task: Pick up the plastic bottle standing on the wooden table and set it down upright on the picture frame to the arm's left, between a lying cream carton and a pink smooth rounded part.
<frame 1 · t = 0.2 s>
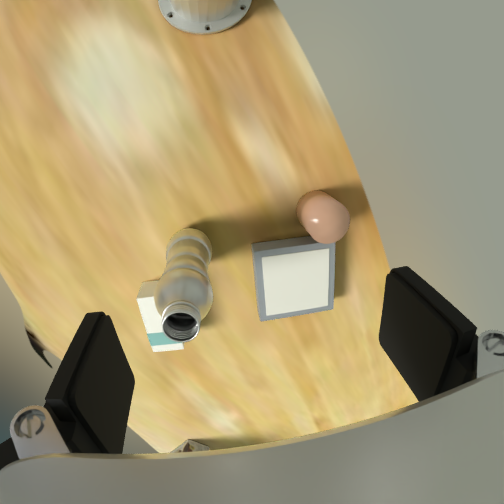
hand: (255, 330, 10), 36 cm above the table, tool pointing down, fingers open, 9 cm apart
pink smooth rounded part: (315, 210, 48), on the table
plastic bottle: (189, 244, 47), on the table
lying carton: (164, 307, 51), on the table
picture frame: (292, 273, 51), on the table
coffee box: (188, 449, 68), on the table
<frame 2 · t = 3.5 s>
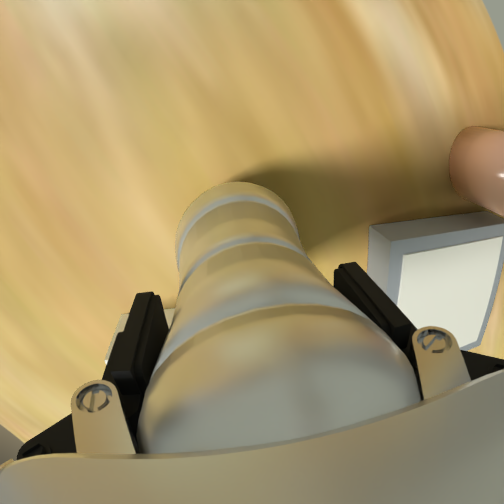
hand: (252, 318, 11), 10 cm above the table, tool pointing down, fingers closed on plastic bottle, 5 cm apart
pink smooth rounded part: (474, 163, 20), on the table
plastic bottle: (232, 227, 20), on the table, touching gripper
lying carton: (171, 364, 23), on the table
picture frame: (428, 287, 24), on the table
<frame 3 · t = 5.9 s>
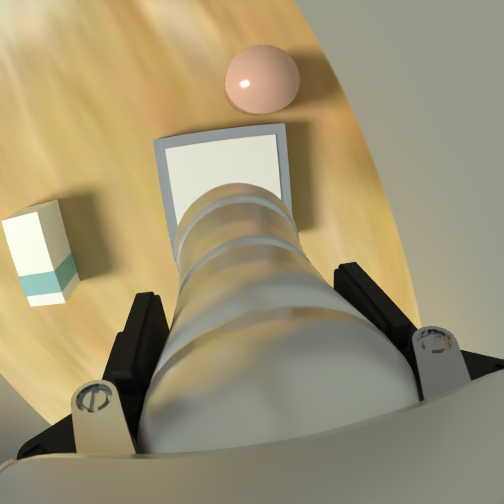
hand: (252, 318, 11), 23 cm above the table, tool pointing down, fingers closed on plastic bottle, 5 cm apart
pink smooth rounded part: (254, 86, 29), on the table
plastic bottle: (232, 228, 20), point 14 cm above the table, touching gripper
lying carton: (51, 245, 32), on the table
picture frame: (225, 187, 33), on the table
when the fingers open (14 cm above the table, at t = 8.6 s): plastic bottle stays where it is, resting on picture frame.
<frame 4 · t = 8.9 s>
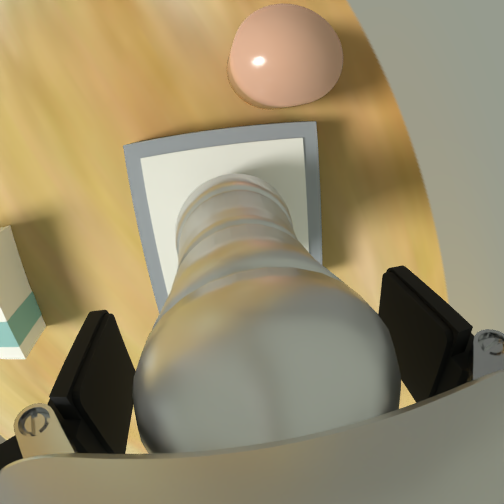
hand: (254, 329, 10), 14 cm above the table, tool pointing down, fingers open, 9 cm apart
pink smooth rounded part: (269, 69, 20), on the table
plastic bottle: (230, 218, 21), point 3 cm above the table, touching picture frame
lying carton: (8, 281, 23), on the table
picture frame: (228, 211, 24), on the table
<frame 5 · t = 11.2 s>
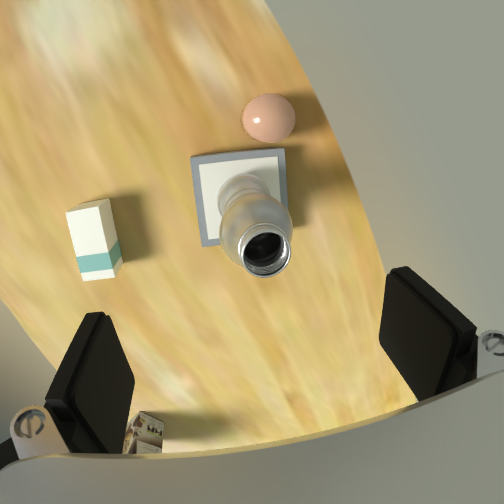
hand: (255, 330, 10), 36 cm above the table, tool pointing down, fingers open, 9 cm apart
pink smooth rounded part: (262, 119, 41), on the table
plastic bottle: (241, 195, 42), point 3 cm above the table, touching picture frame
lying carton: (100, 233, 44), on the table
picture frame: (240, 193, 45), on the table
coffee box: (142, 425, 60), on the table
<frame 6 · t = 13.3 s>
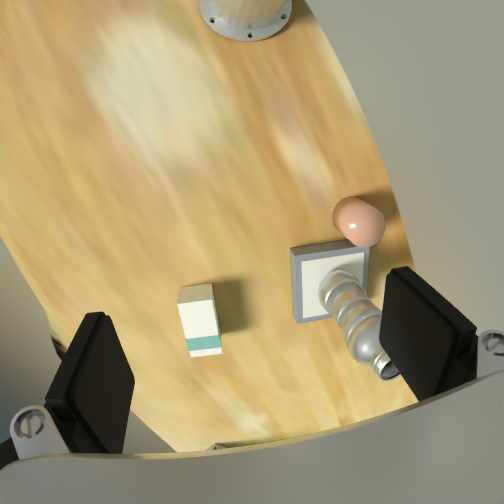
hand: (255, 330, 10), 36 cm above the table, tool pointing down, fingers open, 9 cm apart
pink smooth rounded part: (350, 215, 49), on the table
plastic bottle: (333, 284, 49), point 3 cm above the table, touching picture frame
lying carton: (200, 312, 52), on the table
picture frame: (327, 277, 52), on the table
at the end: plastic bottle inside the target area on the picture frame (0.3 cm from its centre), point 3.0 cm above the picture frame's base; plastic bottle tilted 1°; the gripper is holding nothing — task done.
